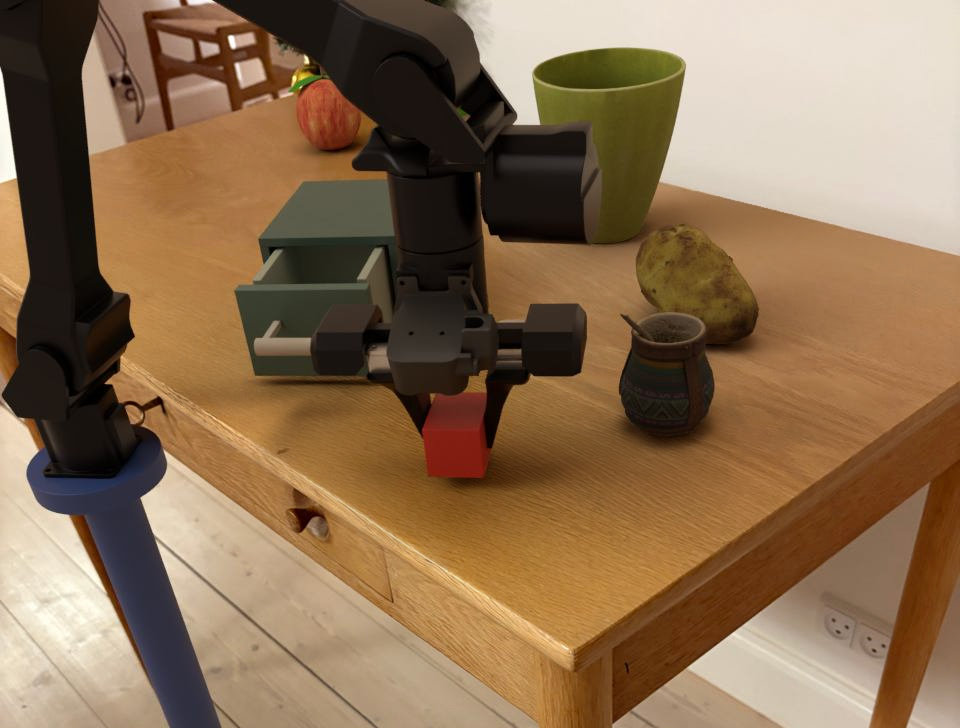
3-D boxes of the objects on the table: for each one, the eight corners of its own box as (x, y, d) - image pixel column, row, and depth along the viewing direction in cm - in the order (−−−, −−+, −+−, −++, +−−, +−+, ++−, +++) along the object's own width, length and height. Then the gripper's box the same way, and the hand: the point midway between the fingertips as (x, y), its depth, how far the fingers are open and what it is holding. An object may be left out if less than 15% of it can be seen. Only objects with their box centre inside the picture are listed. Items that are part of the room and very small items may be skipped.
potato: (673, 366, 89) (678, 274, 84) (623, 306, 98) (625, 220, 93) (765, 349, 90) (775, 257, 85) (707, 291, 99) (713, 205, 94)
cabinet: (409, 339, 97) (395, 235, 90) (279, 339, 99) (257, 238, 92) (437, 274, 107) (427, 177, 101) (320, 275, 110) (303, 181, 103)
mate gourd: (732, 425, 81) (744, 302, 74) (656, 459, 78) (662, 335, 72) (670, 391, 86) (677, 272, 79) (597, 421, 83) (597, 301, 76)
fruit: (308, 138, 146) (294, 59, 139) (375, 135, 145) (364, 55, 138) (294, 159, 140) (278, 76, 133) (363, 155, 138) (351, 72, 132)
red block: (483, 478, 76) (479, 430, 74) (427, 477, 77) (421, 429, 75) (494, 438, 80) (490, 392, 78) (441, 437, 81) (435, 391, 79)
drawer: (367, 405, 86) (351, 315, 81) (236, 404, 88) (213, 316, 83) (411, 308, 100) (401, 226, 94) (297, 309, 102) (281, 228, 96)
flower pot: (705, 236, 109) (717, 67, 99) (582, 271, 105) (580, 98, 95) (629, 196, 120) (632, 39, 109) (514, 226, 115) (505, 66, 105)
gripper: (264, 291, 63) (312, 504, 74) (571, 288, 60) (575, 510, 71) (314, 222, 72) (350, 422, 82) (586, 216, 68) (588, 425, 79)
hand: (460, 445), depth 78 cm, fingers closed on red block, 4 cm apart
